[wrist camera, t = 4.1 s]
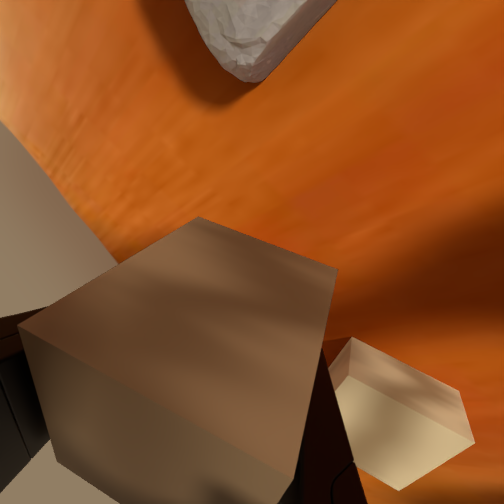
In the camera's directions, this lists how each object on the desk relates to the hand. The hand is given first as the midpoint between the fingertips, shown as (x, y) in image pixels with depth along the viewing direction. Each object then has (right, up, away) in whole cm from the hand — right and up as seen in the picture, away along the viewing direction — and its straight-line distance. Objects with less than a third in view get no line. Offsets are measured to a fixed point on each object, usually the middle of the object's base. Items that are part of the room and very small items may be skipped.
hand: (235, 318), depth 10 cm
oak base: (+10, -9, +13) cm, 19 cm away
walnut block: (0, 0, +1) cm, 1 cm away
